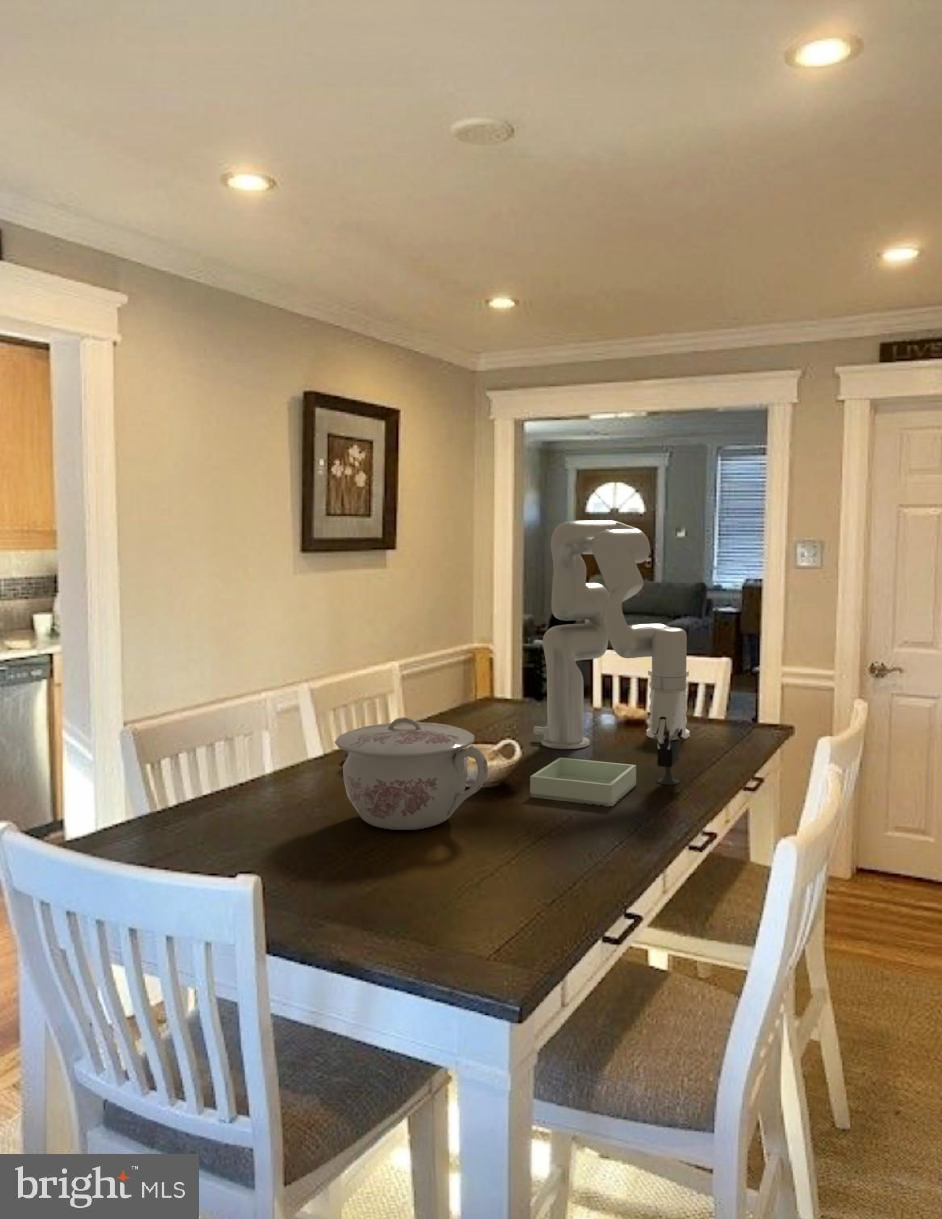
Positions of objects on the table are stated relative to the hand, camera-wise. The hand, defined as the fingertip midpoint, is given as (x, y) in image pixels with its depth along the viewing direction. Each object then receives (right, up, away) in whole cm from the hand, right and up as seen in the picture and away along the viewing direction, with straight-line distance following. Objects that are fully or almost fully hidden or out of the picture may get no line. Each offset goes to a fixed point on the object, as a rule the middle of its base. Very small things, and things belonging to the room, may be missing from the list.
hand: (668, 762), depth 215 cm
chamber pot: (-57, -8, -25) cm, 63 cm away
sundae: (0, -5, 0) cm, 5 cm away
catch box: (-20, -5, -6) cm, 21 cm away
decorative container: (+10, 0, +48) cm, 49 cm away
